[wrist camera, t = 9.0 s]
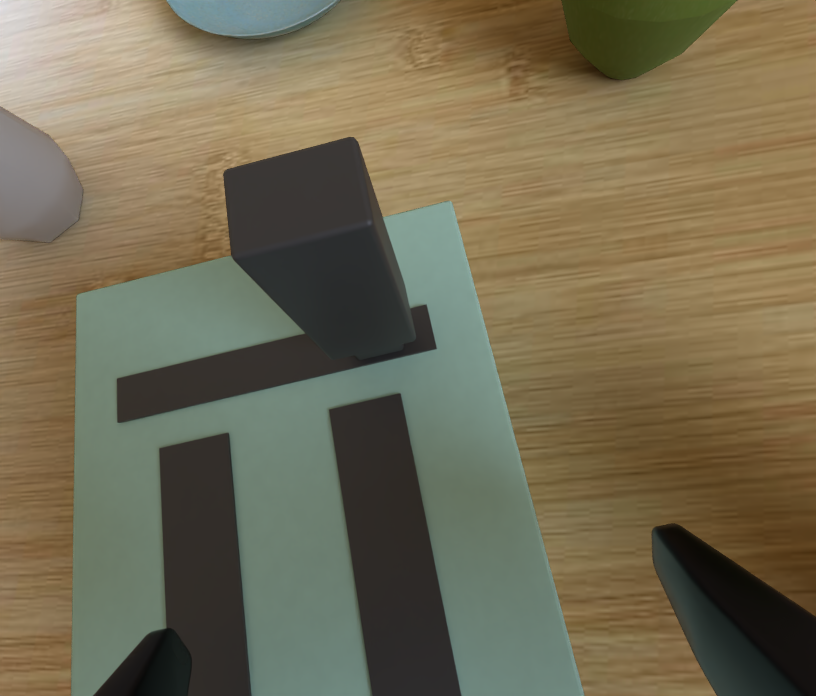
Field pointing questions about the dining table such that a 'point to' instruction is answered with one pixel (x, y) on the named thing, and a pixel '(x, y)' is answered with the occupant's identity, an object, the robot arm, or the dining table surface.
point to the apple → (637, 31)
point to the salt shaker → (34, 183)
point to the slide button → (321, 248)
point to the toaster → (306, 493)
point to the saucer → (251, 15)
